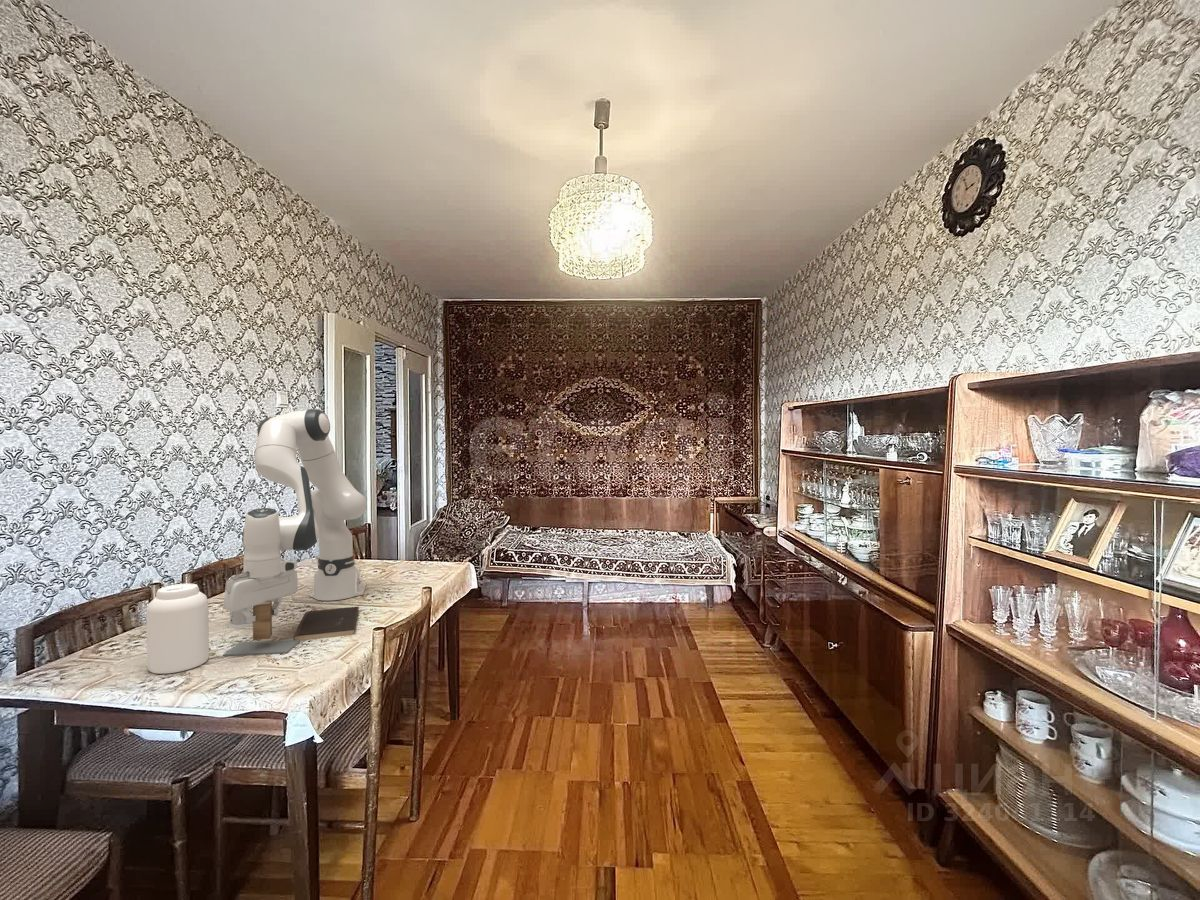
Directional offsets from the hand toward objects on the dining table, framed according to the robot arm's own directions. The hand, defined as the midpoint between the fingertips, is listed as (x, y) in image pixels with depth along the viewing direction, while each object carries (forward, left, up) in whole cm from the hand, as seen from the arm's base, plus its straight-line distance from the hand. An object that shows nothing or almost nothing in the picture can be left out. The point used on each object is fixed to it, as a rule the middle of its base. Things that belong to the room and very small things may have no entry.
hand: (262, 618), depth 154 cm
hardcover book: (-17, +12, -9) cm, 22 cm away
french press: (-23, -15, -8) cm, 29 cm away
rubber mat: (+1, 0, -8) cm, 8 cm away
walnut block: (0, 0, -5) cm, 5 cm away
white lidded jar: (+10, -16, -8) cm, 20 cm away
